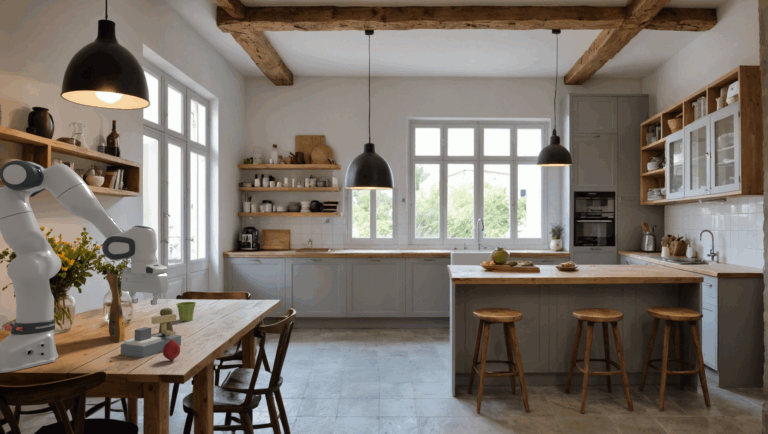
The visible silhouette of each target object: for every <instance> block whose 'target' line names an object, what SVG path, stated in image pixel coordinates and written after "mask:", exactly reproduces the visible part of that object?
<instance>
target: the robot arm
mask: <svg viewBox="0 0 768 434" xmlns="http://www.w3.org/2000/svg"><path fill="white" fill-rule="evenodd" d="M0 180H1V183H2V184H3V185H4V186H1V187H0V233H1V237H2V238H3V240H4V242H5V244H6V245H7V246H8V247H10V249H11V250H12V251H13V252H14V254H15V255H16V257H15V258H13V259H12V260H11V261H10V262H9V263H8V266H7V268H6V272H7V275H8V278H9V279H10V280H11V282H12V286H13V290H14V291H13V292H14V295H15V304H16V305H15V306H16V307H15V309H16V310H15V322H14V324H13V325H12V324H5V325H3V329H4V331H8V332H10V333H9V334H8V335H7V336H6V337H5V338H3V339H2V340H1V341H0V374H4V373H10V372H11V373H12V372H15V371H20V370H25V369H28V368H33V367H37V366H42V365H46V364H52V363H54V362H56V360H57V359H58V357H59V353H58V351H57V347H56V340H55V330H56V318H55V313H54V312H55V298H54V295H53V293H52V289H51V284H50V279H51V278H53V277H55V276H56V275H57V274H59V273H58V272H59V271H60V270H61V268H62V260H61V258H60V257H59V255H57V253H56V252H55V250H54V249H53V247H52V246H51V244H50V242H49V241H48V240H47V238H46V237H45V235H44V233H43V231H42V230H41V227H40V225H39V223H38V220H37V218H36V216H35V214H34V211H33V209H32V207H31V204H30V198H32V197H35V196H36V195H38V194H39V193H41V192H43V191H45V190H47V191H48V192H49V193H50V194H51V195H52V196H53V197H54V199H55V200H56V201H57V202H58V203H59V204H60V206H62V207H63V208H64V209H65V210H66V211H68V212H69V213H70V214H72V215H74V216H76V217H80V218H82V219H84V220H86V221H88V222H89V223H91V224H92V225H93V226H95V228H96V229H97V230H98V232H100V233H101V234H102V235H103V237H104V238H105V240H104V241H103V243H102V246H101V250H102V254H103V255H104V256H105V258H107V259H110V260H112V261H122V260H129V259H130V261H131V262H130V267H127V266H126V267H125V268H124V269H123V271H122V276H121V281H120V290H121V291H122V292H128V296H129V298H130V300H131V304H138V303H139V298H137V296H136V294H137V293H143V294H144V293H147V294H149V293H150V294H152V299H150V305H152V306H155V305H157V304H158V299H159V297H160V296H161V295H160V294H165V293H167V292H168V291H169V276H168V274H167V273H168V270H169V268H168V267H167V266H166V265H163V264H161V263H159V262H157V261H158V258H157V254H156V253H157V249H158V246H157V245H158V244H157V243H158V242H157V241H158V240H157V234H156V230H155V229H154V228H152V227H149V226H145V225H134V226H132V227H131V228H129V229H127V230H126V231H125V230H123V229H122V228H121V227H120V226H119V225H118V223H116V222H115V221H114V220H113V218H112V217H111V216H110V215H109V213H107V211H106V210H105V209H104V207H103V206H102V204H101V203H100V201H99V199H98V198H97V197H96V195H95V194H94V192H93V191H92V189H91V188H90V187H89V185H88V184H87V183H86V182H85V181H84V179H82V177H81V176H80V175H79V174H78V173H77V172H75V171H74V170H73V169H72V168H71V167H69V165H66V164H64V163H56V164H53V165H50V166H49V167H45V166H43V165H41V164H37V163H36V162H33V161H27V160H20V159H18V160H16V159H15V160H11V161H8V162H6V163H5V164H3V165H2V166H1V168H0Z"/></svg>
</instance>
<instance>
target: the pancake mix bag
mask: <svg viewBox="0 0 768 434" xmlns="http://www.w3.org/2000/svg"><path fill="white" fill-rule="evenodd" d="M105 277H106V280H107V283H108V286H109V288H110V291H111V294H112V296H111V297H112V300H111V304H110V309H109V314H108V316H109V317H108V333H109V337H110V341H111V342H113V343H120V342H122V341H123V342H124V341H125V337H126V336H125V335H126V329H125V328H126V327H125V320H124V314H123V307H122V302H121V299H120V294H119V289H118V281H119V280H118V279H119V277H118V275H116V274H114V273H110V272H108V273H107V274H106V275H105Z"/></svg>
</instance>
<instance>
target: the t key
mask: <svg viewBox="0 0 768 434" xmlns="http://www.w3.org/2000/svg"><path fill="white" fill-rule="evenodd" d="M170 321H172V322H176V321H177V314H175V313H172V314H170V315H163V316H161V315H158V316H152V317H151V324H153V325H157V324H158V325H160V323H162V325H161V335H166V334H167V335H170V336H172V335H177V334H176V331H174V330H173V331H169V330H166V322H170Z"/></svg>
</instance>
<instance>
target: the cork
mask: <svg viewBox="0 0 768 434" xmlns="http://www.w3.org/2000/svg"><path fill="white" fill-rule="evenodd" d="M170 314H174V313H173V309H172V308H170V307H167V308H166V307H165V308H162V309H160V310H159V316H163V315H170ZM161 325H162V323H159V327H158V334H159V333H161ZM173 327H174V326H173V321H170V322H166V330H169V331H173V332H174V328H173Z"/></svg>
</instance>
